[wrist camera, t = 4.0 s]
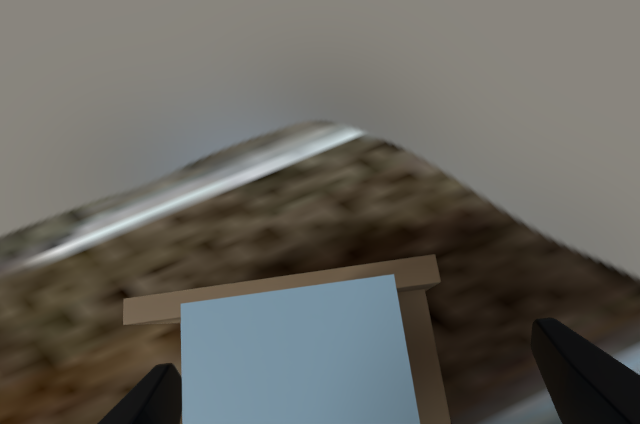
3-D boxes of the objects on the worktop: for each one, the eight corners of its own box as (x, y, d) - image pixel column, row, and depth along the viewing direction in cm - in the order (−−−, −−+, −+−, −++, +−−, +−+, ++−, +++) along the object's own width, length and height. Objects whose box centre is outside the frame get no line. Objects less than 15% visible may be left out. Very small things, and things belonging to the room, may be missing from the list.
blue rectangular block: (409, 441, 14) (514, 963, 3) (343, 447, 14) (190, 937, 3) (386, 304, 16) (392, 273, 4) (326, 312, 16) (180, 303, 4)
